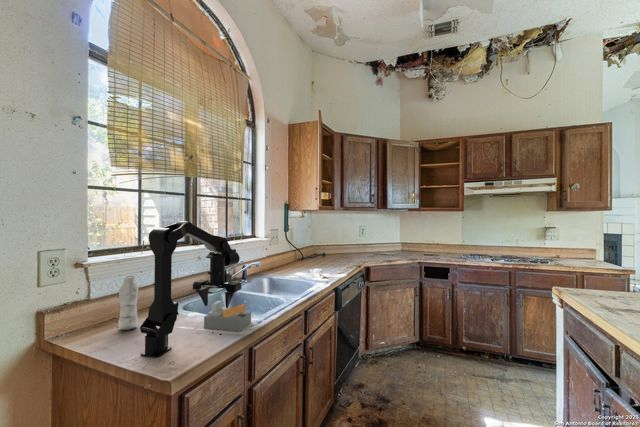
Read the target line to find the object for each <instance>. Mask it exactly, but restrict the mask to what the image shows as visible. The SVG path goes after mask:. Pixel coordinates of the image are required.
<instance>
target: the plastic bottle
mask: <svg viewBox="0 0 640 427" xmlns="http://www.w3.org/2000/svg"><path fill="white" fill-rule="evenodd" d="M135 278H136V277H135V275H125V276H123V279H122V281H123V283H122V285H121V286H120V288H119V289H118V296H119V304H120V305H119V306H120V309H119V310H120V311H119V318H118V323H117V324H118V328H119V329H120V330H121V331H128V330H132V329H133V330H134V329H135V328H136V327H137V326H138V324H139V315H138V309H137V308H138V305H137V303H138V296H139V290H140V289H139V287H138V285H137V284H136V283H135V282H136V279H135Z"/></svg>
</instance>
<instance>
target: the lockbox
mask: <svg viewBox="0 0 640 427" xmlns="http://www.w3.org/2000/svg"><path fill="white" fill-rule="evenodd" d="M250 323H252V311H251V310H245V314H244V315H240V313H238V314H235V315H232V316H229V317H226V318H225V317H223V314H222V315H221V316H209V315H208V314H206V315H204V316H203V329H207V330H208V329H209V330H220V331H230V332H239V333H241V331H242V330H243V329H245V328H246V327H247V326H248V325H250Z"/></svg>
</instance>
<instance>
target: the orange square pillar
mask: <svg viewBox="0 0 640 427" xmlns="http://www.w3.org/2000/svg"><path fill="white" fill-rule="evenodd" d="M245 311H246V304H239V305H235V306H232V307H228V309H224V310H223V317H225V318H226V317H229V316H232V315H235V314H238V313H240V315H244V314H245Z"/></svg>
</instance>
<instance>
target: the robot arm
mask: <svg viewBox="0 0 640 427" xmlns="http://www.w3.org/2000/svg"><path fill="white" fill-rule="evenodd" d="M185 236H187V237H189V238H191V239H193V240H195V241H198V242H200V243H202V244H203V245H204V247H205V248H206V249H207V250H209V251H210V252H209V253H208V254H207V255H206V256H205V259H209V260H210V261H209V271H208V272H207V275H209V279H198V280H195V281H194V282H193V283H192V290H195V293H196V292H197V294H198V295H199V297H200V299H201V301H202V303H203V305H204V307H208V305H209V304H208V303H209V290H210V288H214V289H225V291H226V292H224V296H225V298H224V299H225V301H224V302H225V308H230V307H229V306H230V304H231V302H232V299H233V296H234V294H236V293H237V292H238V291H240V290H242V283H241V282H240V281H232V279H233V278H232V277H233V275H232V274H230V273H228V271H227V269H226V267H230V266H235V265H237V264H238V263H239V262H240V260H241V258H240V255H239V253H238V252H237V249H236V248H232V247H231V246H230V244H229V241H228V240H229V239H227V238H226V237H223V236H220V235H219V236H218V235H214V234H211V233H209V232H208V231H205V230H204V229H202V228H200V227H199V226H197V225H194V224H193V223H192V222H191V221H187V220H179V221H177V222H175V223H172V224H169V225H165V226H161V227H155V228H153V229H152V230H151V231H150V232H149V233H148V241H149V242H148V243H149V248H150V250H151V251H152V253H153V255H154V279H153V280H154V290H153V292H154V293H153V295H154V296H153V302H151V304H150V306H149V308H148V309H149V310H148V314H147V316H146V318H145V319H144V321H143V322H142V323H141V325H140V326H139V330H140V333H141V334H145V336H144V351H142V352H141V353H140V356H142V357H150V358H151V357H152V358H159V357H161V356H162V355H164V354H166V353H167V352H169V351H170V350H172V346H169V334H172V333H173V330H174V327H175V324H176V322H177V320H178V319H177V318H178V316H179V302H176V301H173V299H172V274H173V273H172V267H173V266H172V260H173V258H172V256H173V254H174V252H175V251H176V249H177V246H178V241H179V240H181V239H183V238H185Z"/></svg>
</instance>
